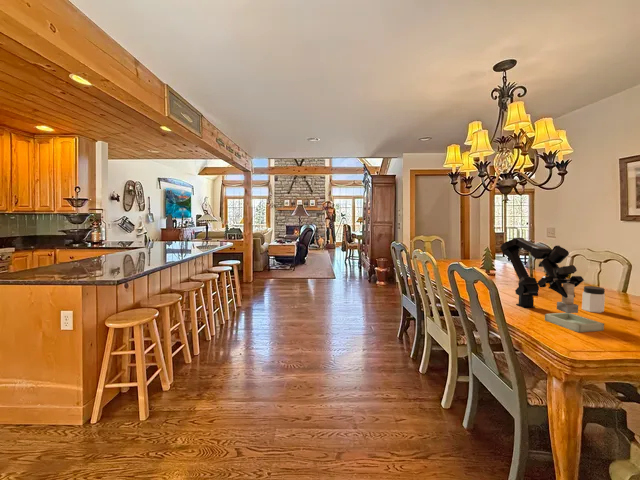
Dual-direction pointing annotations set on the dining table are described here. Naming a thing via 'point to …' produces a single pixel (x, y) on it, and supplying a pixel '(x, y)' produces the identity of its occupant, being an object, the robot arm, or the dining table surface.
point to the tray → (574, 322)
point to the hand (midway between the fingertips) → (570, 297)
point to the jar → (593, 299)
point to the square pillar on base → (568, 300)
